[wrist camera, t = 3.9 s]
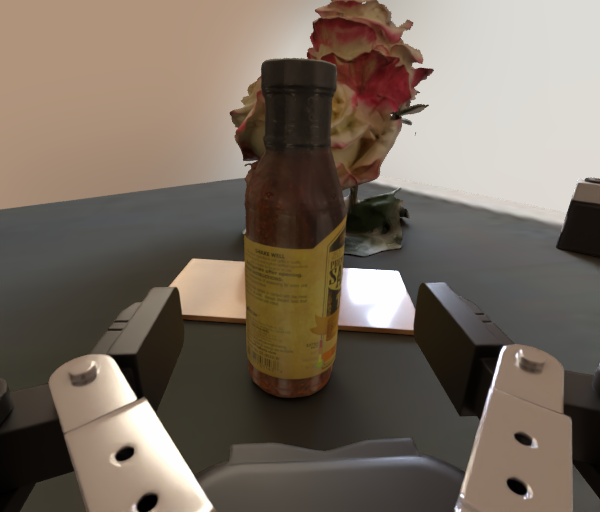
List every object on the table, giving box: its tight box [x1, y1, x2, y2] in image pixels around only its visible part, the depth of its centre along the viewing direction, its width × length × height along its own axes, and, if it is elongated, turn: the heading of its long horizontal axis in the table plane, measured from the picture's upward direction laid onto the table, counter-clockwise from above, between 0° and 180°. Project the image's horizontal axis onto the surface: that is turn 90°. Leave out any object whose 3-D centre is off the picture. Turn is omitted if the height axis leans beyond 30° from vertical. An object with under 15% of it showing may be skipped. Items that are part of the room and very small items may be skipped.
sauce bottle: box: [244, 58, 347, 398], centre depth 23 cm, size 6×6×20 cm
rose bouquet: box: [230, 0, 434, 256], centre depth 50 cm, size 26×29×30 cm
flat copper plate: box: [169, 259, 416, 335], centre depth 37 cm, size 24×12×1 cm, turn 87°
